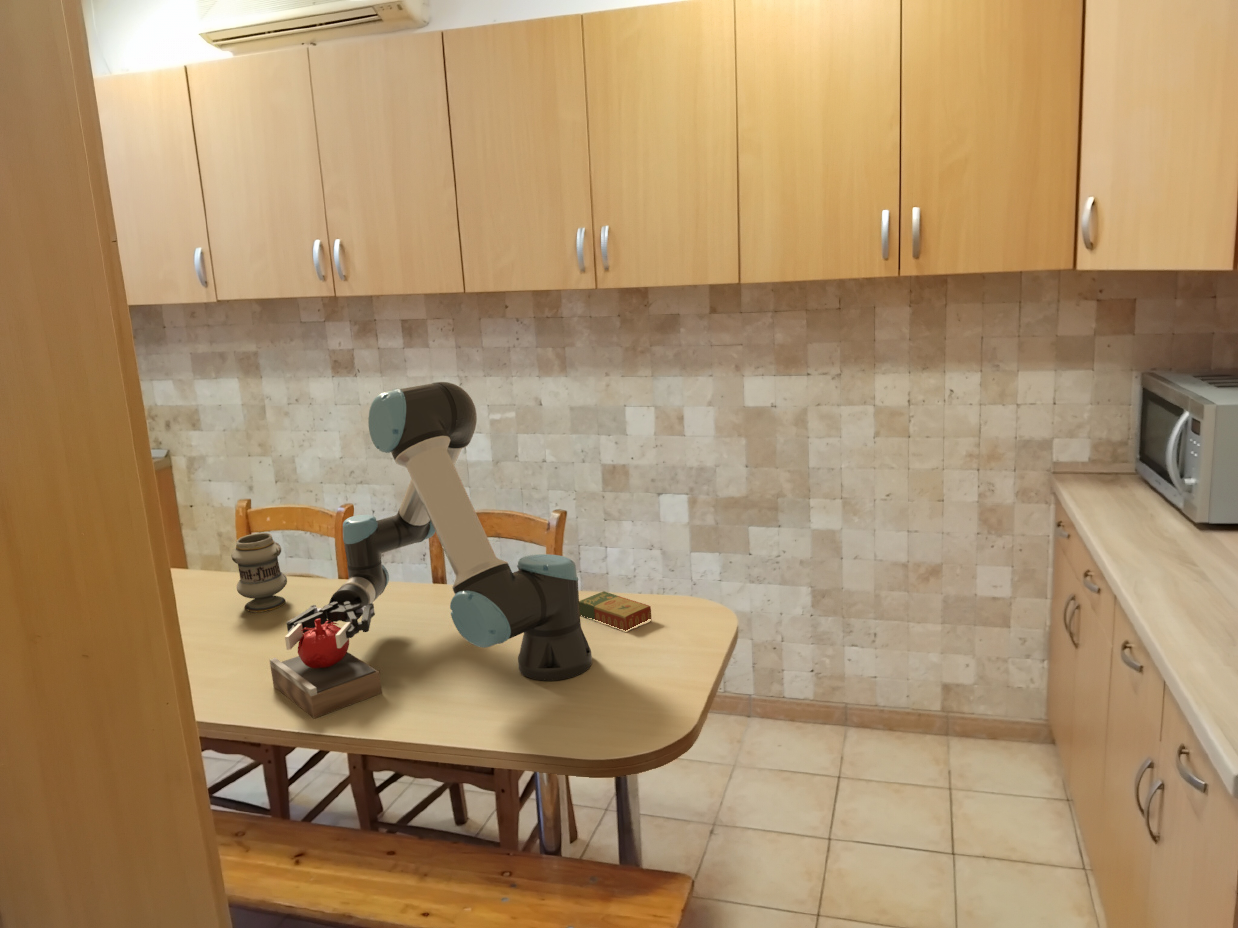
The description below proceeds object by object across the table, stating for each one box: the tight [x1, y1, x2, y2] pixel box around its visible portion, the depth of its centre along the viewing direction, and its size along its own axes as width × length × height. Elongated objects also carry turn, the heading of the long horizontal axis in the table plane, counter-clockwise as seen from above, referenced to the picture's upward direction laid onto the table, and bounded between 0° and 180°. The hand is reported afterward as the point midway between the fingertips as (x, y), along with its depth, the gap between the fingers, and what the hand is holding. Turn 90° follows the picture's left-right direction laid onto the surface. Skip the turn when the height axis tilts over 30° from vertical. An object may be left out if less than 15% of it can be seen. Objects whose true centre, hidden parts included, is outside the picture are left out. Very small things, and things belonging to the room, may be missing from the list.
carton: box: [579, 590, 652, 631], centre depth 217 cm, size 8×16×4 cm, turn 43°
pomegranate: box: [297, 618, 350, 668], centre depth 188 cm, size 10×10×9 cm
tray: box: [269, 651, 383, 719], centre depth 189 cm, size 20×14×6 cm
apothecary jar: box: [230, 532, 288, 613], centre depth 238 cm, size 12×12×18 cm
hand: (312, 642), depth 183 cm, fingers closed on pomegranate, 9 cm apart
